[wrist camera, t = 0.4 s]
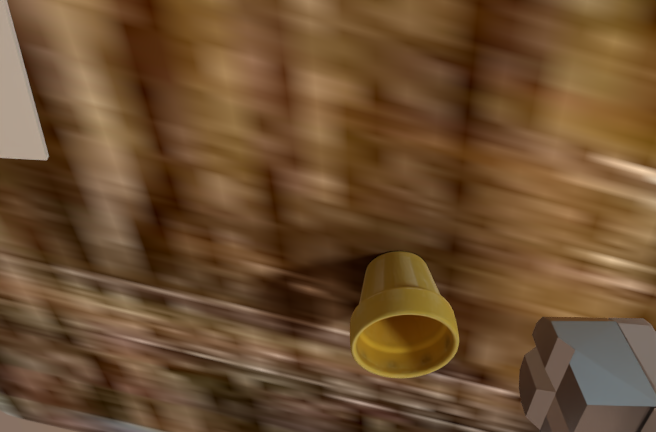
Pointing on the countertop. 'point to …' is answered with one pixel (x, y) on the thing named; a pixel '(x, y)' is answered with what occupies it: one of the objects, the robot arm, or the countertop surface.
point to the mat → (16, 99)
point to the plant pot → (402, 319)
